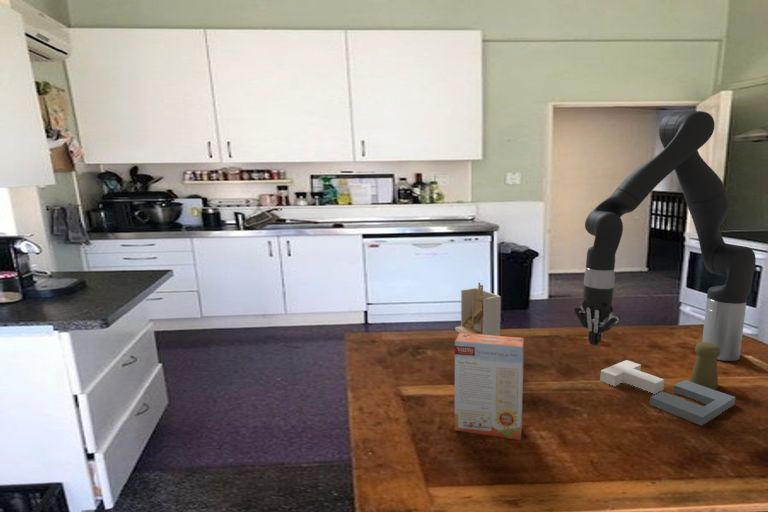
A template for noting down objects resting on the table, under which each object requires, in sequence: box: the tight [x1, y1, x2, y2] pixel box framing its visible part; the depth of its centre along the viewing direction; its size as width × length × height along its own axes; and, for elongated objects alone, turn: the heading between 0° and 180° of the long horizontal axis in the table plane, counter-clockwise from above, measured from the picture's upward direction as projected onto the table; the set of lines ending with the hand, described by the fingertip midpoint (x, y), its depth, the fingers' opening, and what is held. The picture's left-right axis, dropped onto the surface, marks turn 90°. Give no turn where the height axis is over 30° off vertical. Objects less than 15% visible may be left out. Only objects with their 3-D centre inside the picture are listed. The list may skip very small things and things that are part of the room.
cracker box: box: [454, 332, 525, 441], centre depth 97 cm, size 14×6×21 cm, turn 71°
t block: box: [599, 359, 665, 395], centre depth 118 cm, size 12×12×3 cm
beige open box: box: [455, 282, 502, 336], centre depth 130 cm, size 8×12×26 cm
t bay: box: [649, 379, 736, 427], centre depth 106 cm, size 11×16×2 cm
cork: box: [689, 341, 720, 390], centre depth 116 cm, size 6×6×11 cm
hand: (594, 344), depth 126 cm, fingers closed
